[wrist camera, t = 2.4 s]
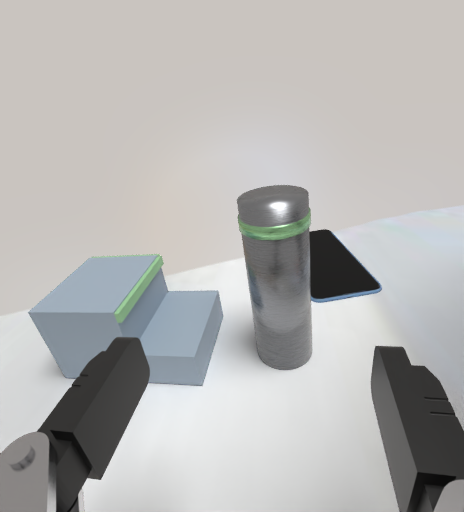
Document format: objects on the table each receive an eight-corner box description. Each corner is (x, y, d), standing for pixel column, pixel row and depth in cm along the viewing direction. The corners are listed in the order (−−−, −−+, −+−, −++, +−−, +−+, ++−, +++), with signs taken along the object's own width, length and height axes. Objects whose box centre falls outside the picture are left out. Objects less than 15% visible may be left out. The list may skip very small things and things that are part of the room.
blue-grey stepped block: (223, 313, 31) (211, 250, 27) (202, 385, 23) (182, 312, 20) (114, 313, 33) (91, 256, 30) (65, 377, 26) (27, 312, 23)
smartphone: (312, 301, 30) (276, 236, 43) (312, 308, 30) (277, 241, 43) (387, 287, 30) (329, 227, 43) (386, 294, 30) (329, 232, 43)
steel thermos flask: (312, 329, 27) (308, 182, 21) (314, 372, 23) (311, 206, 17) (259, 328, 28) (241, 188, 22) (253, 369, 24) (229, 212, 18)
